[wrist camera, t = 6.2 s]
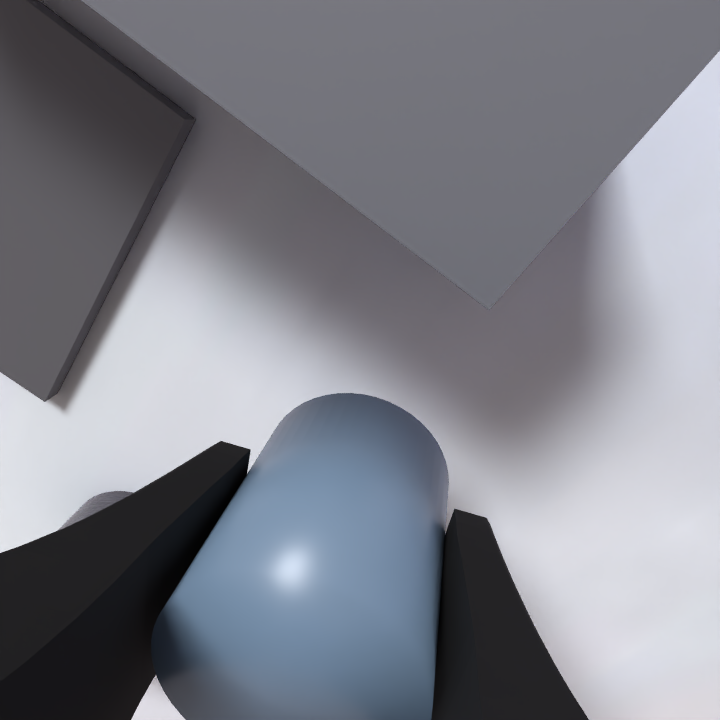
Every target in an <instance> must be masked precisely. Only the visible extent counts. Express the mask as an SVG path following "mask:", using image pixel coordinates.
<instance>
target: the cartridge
mask: <svg viewBox="0 0 720 720" xmlns="http://www.w3.org/2000/svg"><path fill="white" fill-rule="evenodd" d="M448 487H449V478H448V469H447V465H446V461H445V458H444V455H443V453H442V450H441V449H440V447H439V445H438V443H437V441H436V440H435V438H434V437H433V436H432V434H431V433H430V432H429V430H428V429H427V428H426V427H425V426H424V425H423V424H422V423H421V422H420V421H419V420H417V419H416V418H415V417H414V416H412V415H411V414H410V413H408V412H407V411H405V410H403V409H402V408H400V407H398V406H396V405H394V404H392V403H390V402H388V401H385V400H382V399H379V398H376V397H372V396H368V395H363V394H353V393H338V394H331V395H325V396H321V397H317V398H314V399H312V400H309V401H307V402H305V403H303V404H301V405H300V406H298V407H296V408H295V409H293V410H292V411H291V412H290V413H289V414H287V415H286V416H285V417H284V418H283V420H282V421H281V422H280V423H279V425H278V426H277V428H276V429H275V431H274V432H273V434H272V435H271V437H270V439H269V440H268V442H267V443H266V445H265V447H264V448H263V450H262V451H261V453H260V455H259V456H258V458H257V459H256V461H255V463H254V464H253V466H252V467H251V469H250V471H249V472H248V474H247V475H246V477H245V479H244V480H243V482H242V483H241V485H240V487H239V488H238V490H237V491H236V493H235V495H234V496H233V498H232V499H231V501H230V502H229V504H228V506H227V507H226V509H225V510H224V512H223V514H222V515H221V517H220V518H219V520H218V522H217V523H216V525H215V526H214V528H213V530H212V531H211V533H210V534H209V536H208V538H207V539H206V541H205V542H204V544H203V546H202V547H201V549H200V550H199V552H198V554H197V555H196V557H195V558H194V560H193V562H192V563H191V565H190V566H189V568H188V570H187V571H186V573H185V574H184V576H183V577H182V579H181V581H180V582H179V584H178V585H177V587H176V589H175V590H174V592H173V593H172V595H171V597H170V598H169V600H168V601H167V603H166V605H165V606H164V608H163V609H162V611H161V613H160V614H159V616H158V618H157V620H156V623H155V625H154V628H153V633H152V639H151V655H152V661H153V666H154V669H155V672H156V675H157V678H158V680H159V682H160V684H161V686H162V688H163V690H164V692H165V694H166V695H167V697H168V698H169V700H170V701H171V703H172V704H173V705H174V707H175V708H176V709H177V710H178V711H179V713H180V714H181V715H182V716H183V717H184V718H185V719H186V720H431V717H432V708H433V695H434V681H435V667H436V653H437V640H438V626H439V612H440V598H441V584H442V570H443V556H444V542H445V528H446V515H447V501H448Z"/></svg>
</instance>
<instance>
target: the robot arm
mask: <svg viewBox="0 0 720 720" xmlns="http://www.w3.org/2000/svg"><path fill="white" fill-rule="evenodd" d="M249 457H250V449H247V448H243V447H240V446H236V445H233V444H230V443H226V442H223V441H220V442H218V443H217V444H215V445H213V446H211V447H210V448H208V449H206V450H205V451H203V452H202V453H200V454H198V455H197V456H195V457H194V458H192V459H190V460H189V461H187V462H185V463H184V464H182V465H181V466H179V467H177V468H176V469H174V470H172V471H171V472H169V473H167V474H166V475H164V476H162V477H161V478H159V479H157V480H155V481H154V482H152V483H150V484H148V485H147V486H145V487H143V488H142V489H140V490H138V491H136V492H135V493H133V494H131V495H129V496H127V497H125V498H123V499H122V500H120V501H118V502H116V503H114V504H112V505H110V506H108V507H106V508H104V509H102V510H100V511H98V512H96V513H94V514H92V515H91V516H89V517H86V518H84V519H82V520H80V521H78V522H76V523H74V524H72V525H70V526H67V527H65V528H63V529H61V530H58V531H56V532H53V533H51V534H49V535H46V536H44V537H41V538H39V539H37V540H34V541H32V542H29V543H27V544H24V545H22V546H19V547H16V548H14V549H11V550H8V551H5V552H2V553H0V720H131V718H132V716H133V715H134V713H135V711H136V709H137V707H138V705H139V703H140V701H141V699H142V698H143V696H144V694H145V692H146V691H147V689H148V687H149V685H150V684H151V682H152V680H153V678H154V677H155V675H156V672H155V669H154V666H153V661H152V655H151V639H152V633H153V628H154V625H155V623H156V620H157V618H158V616H159V614H160V613H161V611H162V609H163V608H164V606H165V605H166V603H167V601H168V600H169V598H170V597H171V595H172V593H173V592H174V590H175V589H176V587H177V585H178V584H179V582H180V581H181V579H182V577H183V576H184V574H185V573H186V571H187V570H188V568H189V566H190V565H191V563H192V562H193V560H194V558H195V557H196V555H197V554H198V552H199V550H200V549H201V547H202V546H203V544H204V542H205V541H206V539H207V538H208V536H209V534H210V533H211V531H212V530H213V528H214V526H215V525H216V523H217V522H218V520H219V518H220V517H221V515H222V514H223V512H224V510H225V509H226V507H227V506H228V504H229V502H230V501H231V499H232V498H233V496H234V495H235V493H236V491H237V490H238V488H239V487H240V485H241V483H242V482H243V480H244V479H245V477H246V475H247V470H248V464H249ZM431 720H589V719H588V718H587V716H586V715H585V713H584V711H583V710H582V708H581V707H580V705H579V704H578V702H577V701H576V699H575V697H574V696H573V694H572V693H571V691H570V689H569V688H568V686H567V684H566V683H565V681H564V679H563V677H562V676H561V674H560V672H559V671H558V669H557V667H556V665H555V664H554V662H553V660H552V658H551V656H550V654H549V653H548V651H547V649H546V647H545V645H544V643H543V642H542V640H541V638H540V636H539V634H538V632H537V630H536V628H535V626H534V624H533V622H532V620H531V618H530V616H529V614H528V612H527V610H526V608H525V606H524V603H523V601H522V599H521V597H520V595H519V593H518V591H517V589H516V586H515V584H514V582H513V580H512V577H511V575H510V573H509V571H508V568H507V566H506V563H505V561H504V559H503V556H502V554H501V551H500V549H499V546H498V544H497V541H496V539H495V536H494V534H493V531H492V528H491V526H490V524H489V522H488V520H487V518H485V517H481V516H478V515H475V514H471V513H468V512H464V511H461V510H457V509H454V512H453V514H452V517H451V520H450V523H449V526H448V528H447V531H446V534H445V542H444V556H443V570H442V584H441V598H440V612H439V626H438V640H437V653H436V667H435V681H434V695H433V708H432V717H431Z"/></svg>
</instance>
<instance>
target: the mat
mask: <svg viewBox="0 0 720 720" xmlns="http://www.w3.org/2000/svg"><path fill="white" fill-rule="evenodd" d="M195 120H196V119H194V118H193V117H192V116H190V115H189V114H188V113H186V112H185V111H184V110H182V109H181V108H180V107H178V106H177V105H176V104H174V103H173V102H172V101H170V100H169V99H168V98H167V97H165V96H164V95H163V94H161V93H160V92H159V91H157V90H156V89H155V88H153V87H152V86H151V85H149V84H148V83H147V82H145V81H144V80H143V79H141V78H140V77H139V76H137V75H136V74H135V73H133V72H132V71H131V70H129V69H128V68H127V67H125V66H124V65H123V64H121V63H120V62H119V61H117V60H116V59H115V58H113V57H112V56H111V55H109V54H108V53H107V52H105V51H104V50H103V49H101V48H100V47H99V46H97V45H96V44H95V43H93V42H92V41H91V40H90V39H88V38H87V37H86V36H84V35H83V34H82V33H80V32H79V31H78V30H76V29H75V28H74V27H72V26H71V25H70V24H68V23H67V22H66V21H64V20H63V19H62V18H60V17H59V16H58V15H56V14H55V13H54V12H52V11H51V10H50V9H48V8H47V7H46V6H44V5H43V4H42V3H40V2H39V1H38V0H0V372H1V373H3V374H4V375H6V376H7V377H9V378H10V379H12V380H13V381H15V382H16V383H18V384H19V385H21V386H22V387H24V388H25V389H27V390H28V391H30V392H31V393H32V394H34V395H35V396H37V397H38V398H40V399H41V400H43V401H44V402H45V401H47V400H48V399H50V398H51V397H53V396H54V395H56V394H57V393H58V391H59V389H60V387H61V385H62V383H63V381H64V379H65V377H66V375H67V373H68V371H69V369H70V367H71V365H72V363H73V361H74V359H75V357H76V355H77V353H78V351H79V349H80V347H81V345H82V343H83V341H84V340H85V338H86V336H87V334H88V332H89V330H90V328H91V326H92V324H93V322H94V320H95V318H96V316H97V314H98V312H99V310H100V308H101V306H102V304H103V302H104V300H105V298H106V296H107V294H108V292H109V290H110V288H111V286H112V284H113V282H114V280H115V278H116V276H117V274H118V272H119V270H120V268H121V266H122V264H123V262H124V260H125V258H126V256H127V254H128V252H129V250H130V249H131V247H132V245H133V243H134V241H135V239H136V237H137V235H138V233H139V231H140V229H141V227H142V225H143V223H144V221H145V219H146V217H147V215H148V213H149V211H150V209H151V207H152V205H153V203H154V201H155V199H156V197H157V195H158V193H159V191H160V189H161V187H162V185H163V183H164V181H165V179H166V177H167V175H168V173H169V171H170V169H171V167H172V165H173V163H174V161H175V159H176V157H177V156H178V154H179V152H180V150H181V148H182V146H183V144H184V142H185V140H186V138H187V136H188V134H189V132H190V130H191V128H192V126H193V124H194V122H195Z"/></svg>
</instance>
